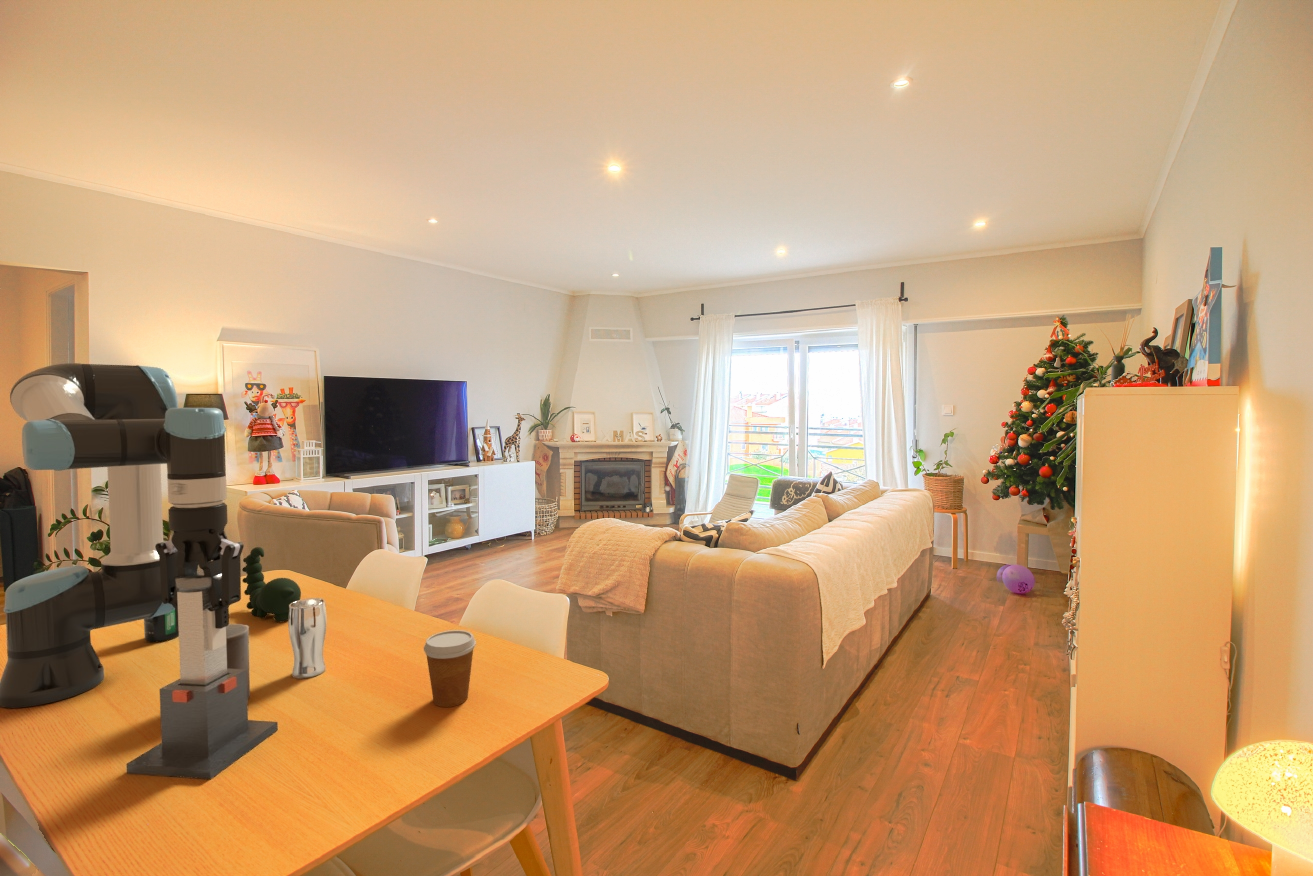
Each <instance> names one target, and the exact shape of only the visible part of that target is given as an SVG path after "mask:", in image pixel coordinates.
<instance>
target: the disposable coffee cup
mask: <svg viewBox="0 0 1313 876" xmlns="http://www.w3.org/2000/svg"><path fill="white" fill-rule="evenodd" d="M476 644H477V641H476V638H475V637H474V634H473V633H472V632H471V631H467V630H463V629H462V630H460V629H455V630H454V629H452V630H451V629H450V630H445V631H441V632H437V633H435V634H433V635H430V636H429V637H428V638H426V640H425V644H424V645H423V652H424V654H425V655H426V659H427V660H426V661H427V662H426V663H427V667H428V675H429V681H430V687H431V694H432V701H433V704H434V705H435V706H437V707H440V708H450V707H455V706H459V705H461V704H463V703H464V702H466V701H467V700H468V698H469V691H470V681H471V672H472V665H473V663H472V662H473V657H474V655H473V654H474V649H475V646H476Z"/></svg>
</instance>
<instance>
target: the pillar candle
mask: <svg viewBox="0 0 1313 876" xmlns="http://www.w3.org/2000/svg"><path fill="white" fill-rule="evenodd" d="M249 628H250V626H249V625H247V624H241V623H229V624H228V626H226V650H227V668H228V669H246V676H247V701H248V700H249V699H250V697H251V696H250V694H251V693H250V692H251V691H250V690H251V689H250V687H251V686H250V681H251V680H250V646H249V645H250V641H249V640H250V637H249V635H250V633H249V631H250V629H249ZM249 696H250V697H249Z"/></svg>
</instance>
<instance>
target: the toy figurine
mask: <svg viewBox="0 0 1313 876" xmlns="http://www.w3.org/2000/svg"><path fill="white" fill-rule="evenodd" d="M260 557H261V558H264V557H265V550H264V548H262V547H259V546H256V547H253V548H252V549H251V550H250V554H248V555H247V556H246V557H244V558H243V560H242V562H243V563H245V564H246V565H245V566H244V567H242V572H243V573H246V574H247V575H246V577H244V578H242V580H241V581H242V583H244V584H245V583H246V584H247V586H246V589H245V590H244V591H243V593H244V595H245V596H249V598H248V600H249V601H248V602H247V603H246V608H247V609H248V610H251V612H250V614H251V616H253V617H256V616H257V617H258V618H259V619H263V618H266V617H267V616H268V615H269V614H270V615H273V620H274V621H275V622H277V623H283V621H284V622H286V621H288V619H289V605H290V604H291V603H293V602H295V601H298V600H301V599H302V597H301V596H302V591H301V587H300V586H299V584H297V582H296V581H295V580H293V579H290V578H287V577H276V578H274V579H271V580H270V581H268V582H265V581H264V580H265V575H264V573H263V572H262V570H263V566H262V564H261V558H260Z"/></svg>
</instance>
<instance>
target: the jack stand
mask: <svg viewBox="0 0 1313 876" xmlns="http://www.w3.org/2000/svg"><path fill="white" fill-rule="evenodd" d="M159 707H160V708H159V709H160V710H159V711H160V713H159V715H160V734H161V742H160V743H159V744H157V745H156V746H153V747H152V748H151V749H149V750H147V751H145V752H144V753H142V754H140V755H138V756H137V757H135V758H134V759H132V760H130V761H129V762H128V763H126V774H129V775H130V774H132V775H142V774H145V775H144V776H156V775H163V776H162V777H170V776H172V777H173V778H186V779H197V780H212V779H213V778H215V777H217V775H218V774H221V773H222V772H223V771H224V770H226V769H227V768H228V767H230V766H231V765H233V764H234V763H235V762H236V761H238V760H239V759H241V757H244V756H245V755H246V754H247V753H249V752H250V751H252V750H253V749H254V748H255V747H257V746H258V745H260V744H261V743H263V742H264V741H265V740H266V739H269V737H271V736H272V735H273V734H275V733H276V732H277V731H278V728H279V727H278V721H270V720H269V721H267V720H253V719H251V720H250V719H249V712H248V711H249V710H248V700H247V676H246V669H228V668H227V675H226V676H224V677H222V678H221V679H219V680H217V681H215V682H213V683H211V684H210V685H208V686H206V687H202V686H184V685H181V678H179V679H176V680H174V681H172V682H171V683H169V684H166V685H164V686H162V687H160V688H159Z"/></svg>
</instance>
